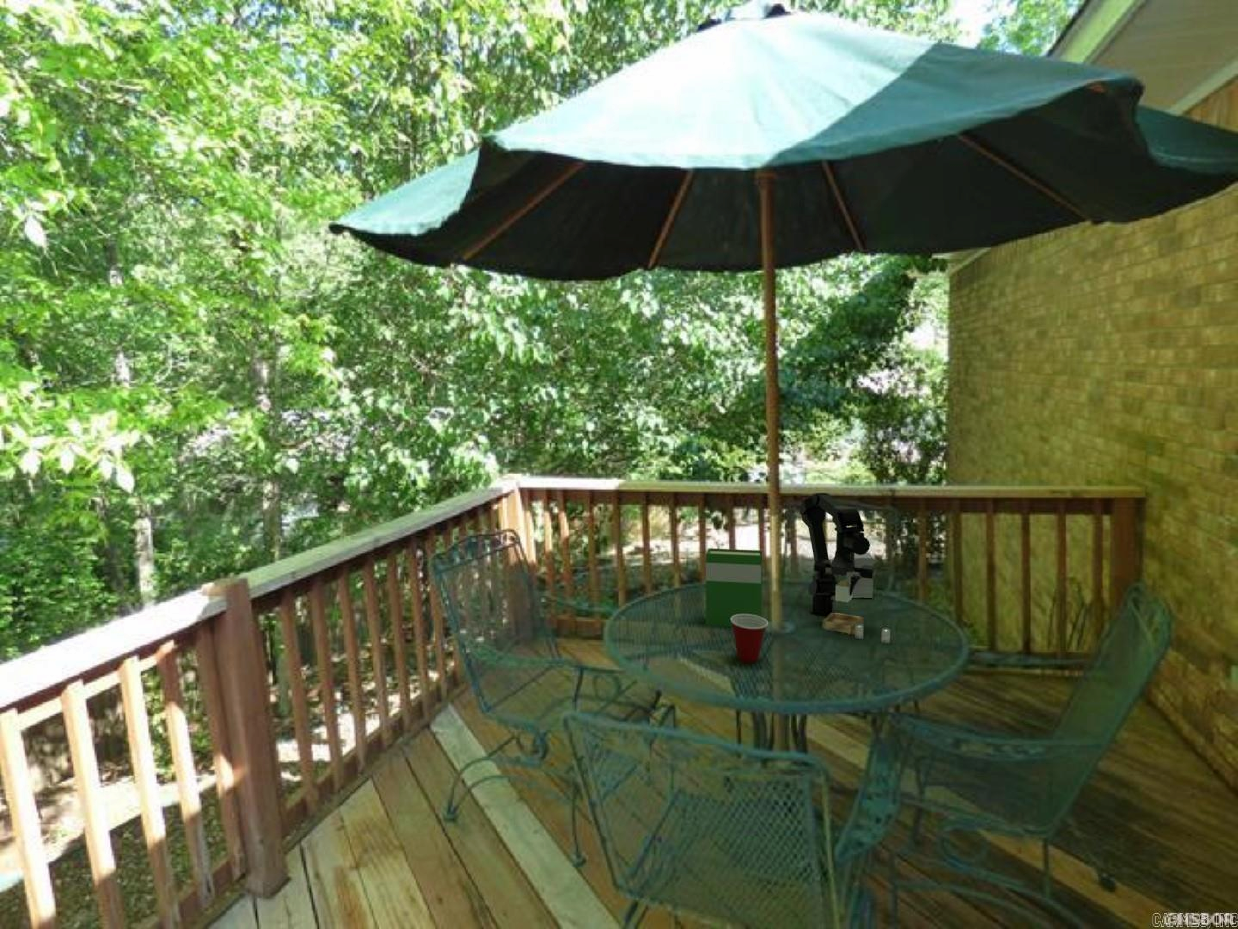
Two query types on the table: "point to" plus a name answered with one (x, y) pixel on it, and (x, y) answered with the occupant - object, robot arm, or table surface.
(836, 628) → the wooden tray
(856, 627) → the peg
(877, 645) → the table surface
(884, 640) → the peg
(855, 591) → the skincare box
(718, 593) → the hardback book
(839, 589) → the plug block
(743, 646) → the plastic cup
